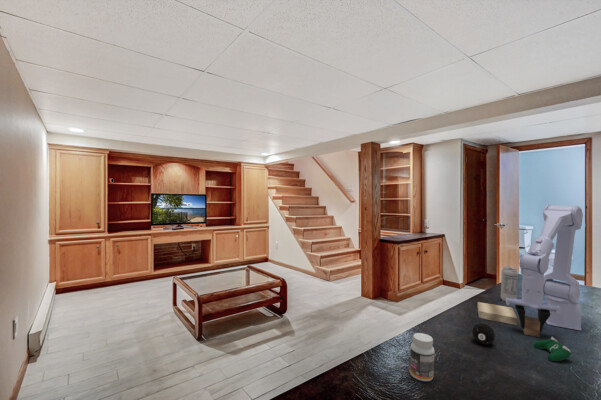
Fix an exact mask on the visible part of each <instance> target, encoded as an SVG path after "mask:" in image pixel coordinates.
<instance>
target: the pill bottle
mask: <svg viewBox="0 0 601 400" xmlns="http://www.w3.org/2000/svg"><path fill="white" fill-rule="evenodd" d="M412 341H413V342H412V343H411V345H410V352H409V353H410V355H409V356H410V357H409V374H410V375H411V376H412V377H413V378H414V379H416V380H418V381H420V382H430V381H432V380H433V378H434V375H435V374H434V373H435V355H436V354H435V352H436V351H435V348H434V346H433V345H434V339H433V337H432V336H430V335H429V334H426V333H422V332H415V333H414V334H413V336H412Z"/></svg>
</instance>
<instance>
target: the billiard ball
mask: <svg viewBox="0 0 601 400" xmlns="http://www.w3.org/2000/svg"><path fill="white" fill-rule="evenodd" d="M471 333H472V337H473V339H474V340H475V341H476V342H477V343H479V344H482V345H491V344H492V343H494V340H495V338H496V337H495V336H496V334H495V331H494V329H493V328H492V327H491V326H490V325H489V324H486V323H480V322H479V323H476V324H475V325H474V326H472V332H471Z"/></svg>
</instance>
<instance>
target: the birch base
mask: <svg viewBox="0 0 601 400" xmlns="http://www.w3.org/2000/svg"><path fill="white" fill-rule="evenodd" d="M476 306H477V314H478V318H479V319H483V320H489V321H494V322H500V323H506V324H508V325H509V324H510V325H515V326H518V316H517V314H516V313H515V310H514V309H513V307H509V306H505V305H504V306H503V305H499V304H492V303H486V302H480V301H477V303H476Z"/></svg>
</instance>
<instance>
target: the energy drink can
mask: <svg viewBox="0 0 601 400" xmlns="http://www.w3.org/2000/svg"><path fill="white" fill-rule="evenodd" d="M518 277H519V272H518V271H517V267H512V266H503V267H502V270H501V278H500V279H501V280H500V281H501V282H500V299H501V300H502V302H505V303H506V298H511V299H518V279H519V278H518Z"/></svg>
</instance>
